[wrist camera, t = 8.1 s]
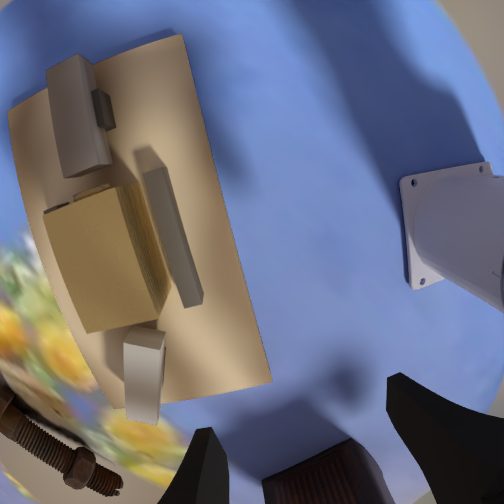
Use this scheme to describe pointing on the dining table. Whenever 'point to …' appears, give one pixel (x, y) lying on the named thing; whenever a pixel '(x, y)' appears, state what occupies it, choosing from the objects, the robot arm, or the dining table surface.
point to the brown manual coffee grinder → (330, 479)
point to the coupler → (109, 257)
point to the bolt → (56, 451)
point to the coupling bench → (161, 215)
